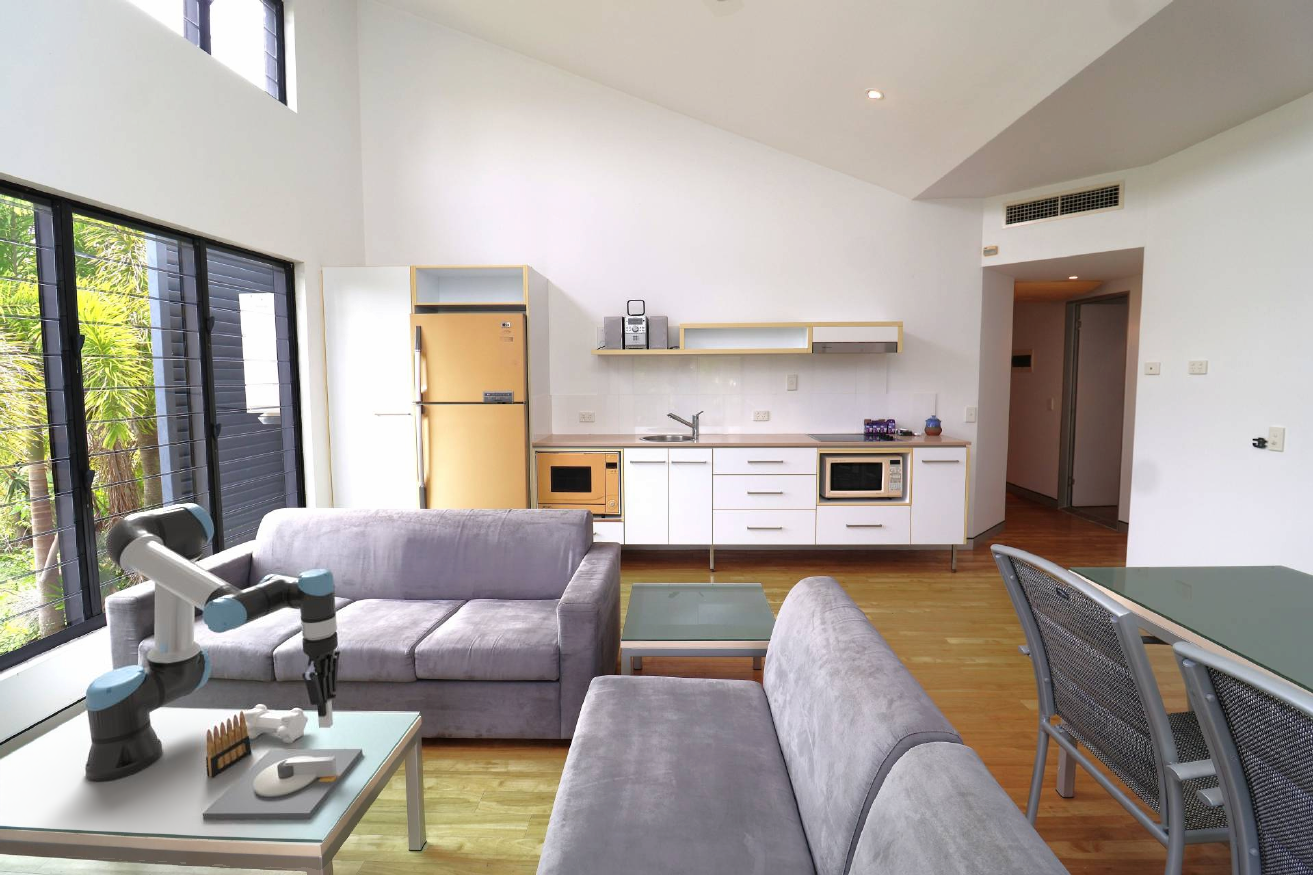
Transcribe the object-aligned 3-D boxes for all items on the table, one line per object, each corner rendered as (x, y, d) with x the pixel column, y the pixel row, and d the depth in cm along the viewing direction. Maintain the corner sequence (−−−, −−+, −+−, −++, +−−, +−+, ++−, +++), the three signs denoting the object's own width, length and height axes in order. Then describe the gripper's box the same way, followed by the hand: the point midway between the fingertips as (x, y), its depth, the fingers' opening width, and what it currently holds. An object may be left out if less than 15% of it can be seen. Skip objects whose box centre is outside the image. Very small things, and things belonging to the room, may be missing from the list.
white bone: (310, 733, 177) (309, 704, 177) (285, 748, 169) (285, 717, 169) (264, 728, 180) (263, 699, 180) (237, 743, 172) (237, 712, 172)
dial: (240, 798, 147) (238, 781, 146) (273, 761, 161) (272, 745, 160) (321, 793, 147) (320, 776, 147) (347, 757, 161) (346, 741, 161)
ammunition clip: (212, 778, 157) (207, 731, 156) (207, 777, 158) (201, 730, 157) (251, 753, 168) (247, 709, 166) (246, 752, 168) (242, 708, 167)
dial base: (203, 819, 143) (202, 812, 142) (271, 754, 166) (270, 748, 166) (309, 819, 142) (309, 812, 142) (362, 754, 166) (362, 748, 165)
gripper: (319, 623, 163) (325, 711, 165) (288, 645, 150) (295, 741, 152) (348, 623, 163) (354, 711, 165) (320, 645, 150) (326, 741, 152)
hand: (325, 725), depth 159 cm, fingers closed
